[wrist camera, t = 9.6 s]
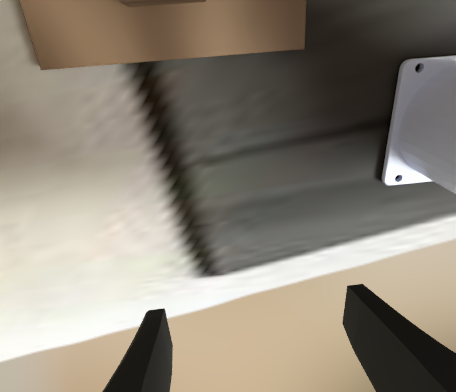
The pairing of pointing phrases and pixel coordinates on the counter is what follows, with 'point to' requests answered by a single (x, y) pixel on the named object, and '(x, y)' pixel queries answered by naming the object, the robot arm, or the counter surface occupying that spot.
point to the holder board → (159, 29)
